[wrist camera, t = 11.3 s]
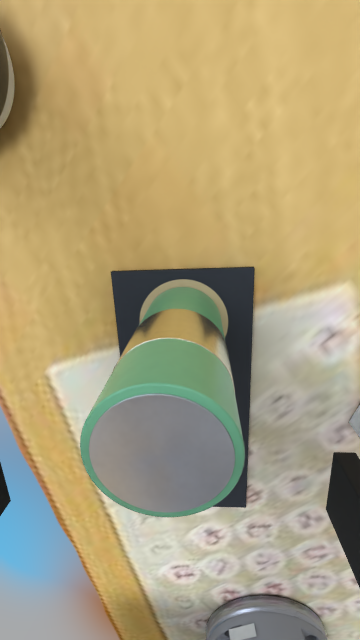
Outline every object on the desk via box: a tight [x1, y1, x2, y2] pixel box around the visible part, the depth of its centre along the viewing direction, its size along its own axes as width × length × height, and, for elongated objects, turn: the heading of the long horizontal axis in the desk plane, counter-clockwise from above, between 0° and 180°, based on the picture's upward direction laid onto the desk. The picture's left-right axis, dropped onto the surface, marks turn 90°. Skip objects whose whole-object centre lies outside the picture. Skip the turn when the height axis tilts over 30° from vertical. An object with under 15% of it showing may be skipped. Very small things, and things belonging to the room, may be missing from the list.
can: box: [80, 287, 245, 517], centre depth 20 cm, size 16×7×7 cm
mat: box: [111, 267, 254, 507], centre depth 30 cm, size 26×12×1 cm, turn 2°
